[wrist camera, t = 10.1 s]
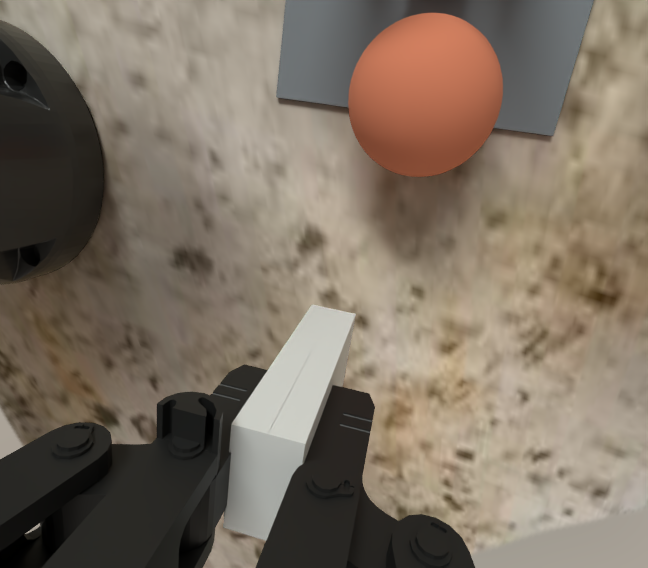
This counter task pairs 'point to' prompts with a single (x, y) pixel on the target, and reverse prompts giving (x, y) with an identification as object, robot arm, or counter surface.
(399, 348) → the counter surface
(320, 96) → the plate
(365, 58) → the ball
